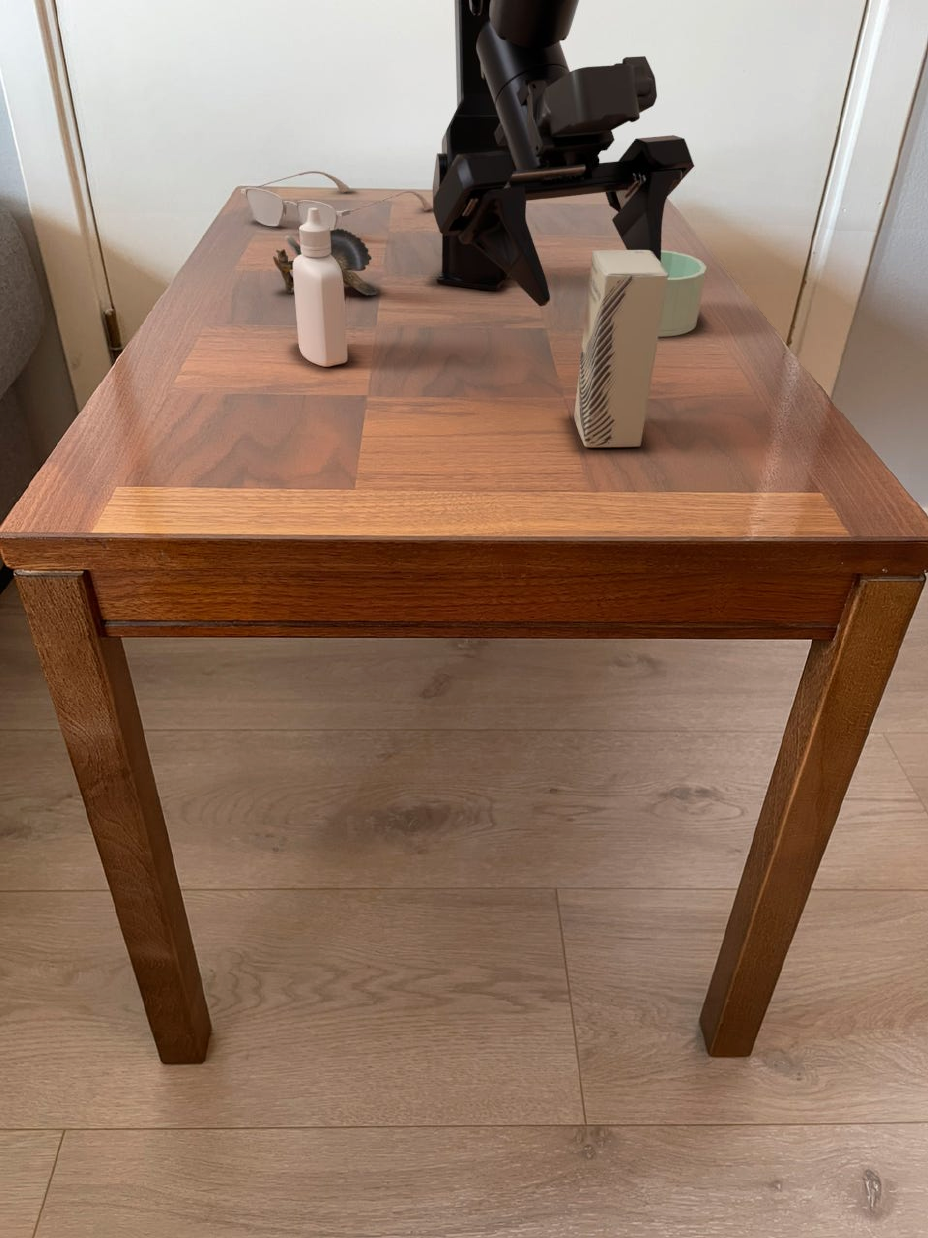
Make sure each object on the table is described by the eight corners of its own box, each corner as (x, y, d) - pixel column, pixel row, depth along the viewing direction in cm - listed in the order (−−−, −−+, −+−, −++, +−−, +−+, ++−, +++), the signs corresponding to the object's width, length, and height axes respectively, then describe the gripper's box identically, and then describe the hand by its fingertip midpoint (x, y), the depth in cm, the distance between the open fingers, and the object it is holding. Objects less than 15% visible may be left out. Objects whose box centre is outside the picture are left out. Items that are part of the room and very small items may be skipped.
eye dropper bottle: (350, 343, 86) (343, 199, 79) (347, 368, 81) (338, 219, 74) (300, 342, 86) (288, 198, 78) (294, 368, 81) (281, 218, 74)
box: (572, 419, 75) (588, 247, 67) (628, 418, 75) (651, 246, 67) (584, 451, 71) (604, 272, 63) (644, 450, 71) (671, 271, 63)
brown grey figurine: (281, 301, 91) (376, 281, 90) (264, 223, 90) (360, 203, 90) (294, 319, 98) (382, 300, 98) (278, 247, 98) (367, 229, 97)
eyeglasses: (242, 220, 115) (238, 184, 113) (342, 189, 127) (340, 156, 125) (342, 245, 108) (340, 207, 106) (437, 210, 120) (437, 175, 118)
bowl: (596, 329, 90) (602, 272, 87) (614, 299, 96) (620, 244, 93) (689, 342, 88) (699, 284, 85) (702, 310, 94) (711, 255, 91)
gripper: (452, 11, 59) (532, 249, 58) (700, 4, 66) (775, 216, 65) (402, 129, 69) (469, 333, 68) (621, 112, 76) (685, 297, 75)
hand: (601, 294), depth 69 cm, fingers open, 9 cm apart
